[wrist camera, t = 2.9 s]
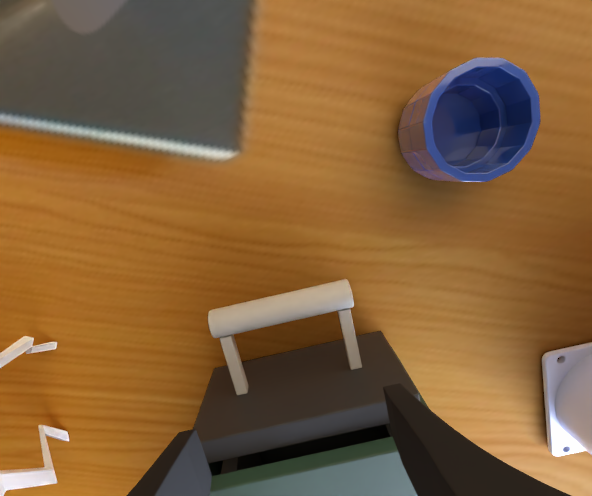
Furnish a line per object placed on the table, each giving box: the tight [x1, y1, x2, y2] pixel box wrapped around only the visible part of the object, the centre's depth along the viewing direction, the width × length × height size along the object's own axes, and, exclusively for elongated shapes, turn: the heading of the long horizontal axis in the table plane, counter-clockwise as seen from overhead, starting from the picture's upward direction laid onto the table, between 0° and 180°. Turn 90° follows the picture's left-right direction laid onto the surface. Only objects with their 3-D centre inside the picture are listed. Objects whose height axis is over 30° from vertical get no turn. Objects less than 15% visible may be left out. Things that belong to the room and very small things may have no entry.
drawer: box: [193, 279, 420, 474], centre depth 19 cm, size 17×10×6 cm, turn 13°
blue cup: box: [398, 58, 540, 182], centre depth 17 cm, size 5×5×4 cm
